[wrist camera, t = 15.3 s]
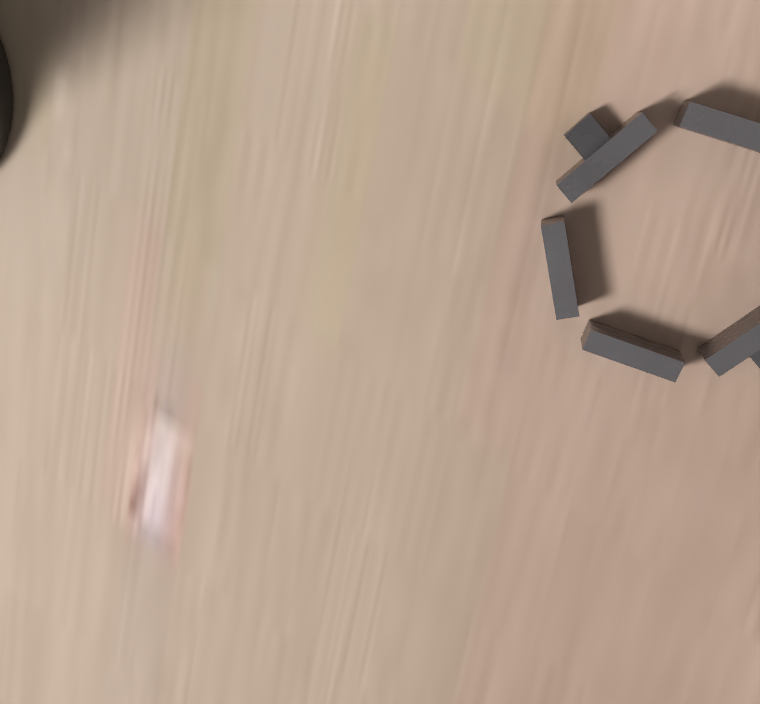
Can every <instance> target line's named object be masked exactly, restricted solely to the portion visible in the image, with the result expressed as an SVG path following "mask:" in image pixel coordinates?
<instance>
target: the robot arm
mask: <svg viewBox="0 0 760 704" xmlns="http://www.w3.org/2000/svg"><path fill="white" fill-rule="evenodd" d="M11 117H12V86H11V78H10V73H9V67H8V63H7V59H6V55H5V52H4V49H3V46H2V43H1V41H0V156H1V154H2V152H3V150H4V147H5V144H6V141H7V138H8V134H9V129H10V125H11Z"/></svg>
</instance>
